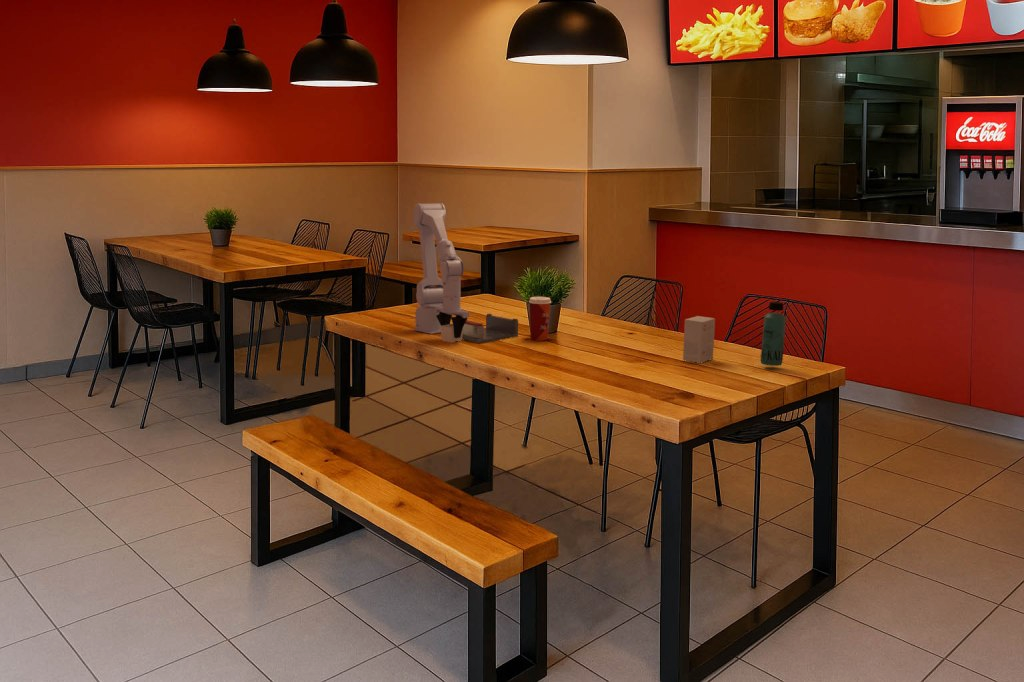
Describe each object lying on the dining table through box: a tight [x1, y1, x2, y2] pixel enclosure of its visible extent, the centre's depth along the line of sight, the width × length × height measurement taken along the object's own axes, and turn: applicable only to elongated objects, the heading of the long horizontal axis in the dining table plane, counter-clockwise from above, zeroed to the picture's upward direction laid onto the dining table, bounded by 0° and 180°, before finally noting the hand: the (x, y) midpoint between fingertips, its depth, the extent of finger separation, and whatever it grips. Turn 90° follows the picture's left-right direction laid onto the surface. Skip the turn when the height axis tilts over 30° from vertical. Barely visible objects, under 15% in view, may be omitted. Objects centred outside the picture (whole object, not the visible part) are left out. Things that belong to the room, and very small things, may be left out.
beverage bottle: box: [759, 301, 787, 367], centre depth 273 cm, size 6×7×20 cm
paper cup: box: [528, 296, 552, 342], centre depth 310 cm, size 8×8×14 cm
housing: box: [440, 323, 463, 343], centre depth 306 cm, size 5×5×6 cm
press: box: [462, 313, 519, 344], centre depth 313 cm, size 14×18×6 cm
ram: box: [462, 319, 485, 338], centre depth 309 cm, size 9×3×5 cm, turn 47°
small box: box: [682, 315, 716, 364], centre depth 283 cm, size 8×6×13 cm
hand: (451, 336), depth 307 cm, fingers closed on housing, 5 cm apart
